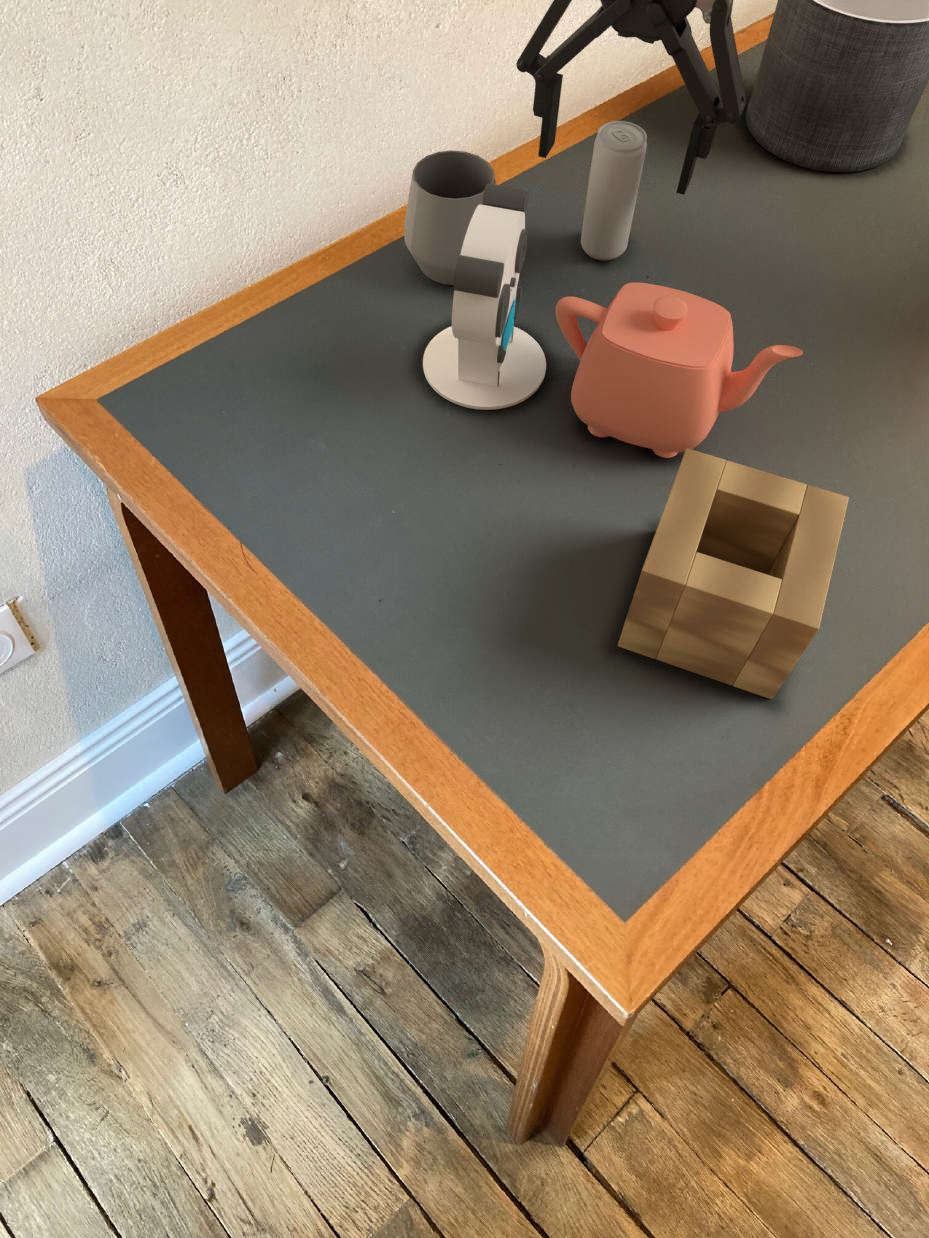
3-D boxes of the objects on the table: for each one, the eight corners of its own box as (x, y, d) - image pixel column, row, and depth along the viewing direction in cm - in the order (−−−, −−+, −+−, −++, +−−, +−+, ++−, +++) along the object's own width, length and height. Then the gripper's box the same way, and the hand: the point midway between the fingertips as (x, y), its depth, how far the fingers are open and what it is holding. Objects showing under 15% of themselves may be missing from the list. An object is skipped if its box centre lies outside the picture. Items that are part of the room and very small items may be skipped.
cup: (466, 227, 97) (468, 133, 89) (517, 277, 93) (525, 184, 85) (387, 257, 95) (382, 164, 86) (437, 311, 90) (437, 218, 82)
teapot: (522, 428, 83) (534, 319, 72) (567, 343, 89) (583, 231, 78) (744, 499, 79) (790, 395, 69) (775, 406, 85) (821, 297, 75)
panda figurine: (530, 425, 83) (547, 284, 70) (406, 401, 84) (401, 257, 71) (556, 335, 89) (576, 190, 76) (440, 313, 90) (441, 167, 78)
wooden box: (802, 576, 75) (849, 496, 66) (772, 700, 69) (819, 629, 60) (658, 530, 77) (686, 447, 69) (617, 646, 71) (641, 570, 63)
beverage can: (597, 269, 94) (617, 156, 84) (569, 242, 97) (585, 129, 86) (635, 253, 96) (659, 140, 86) (607, 227, 98) (627, 114, 88)
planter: (845, 76, 115) (899, -72, 102) (931, 157, 106) (1002, 7, 93) (717, 101, 111) (755, -49, 98) (795, 187, 103) (849, 35, 89)
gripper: (490, -110, 71) (477, 156, 89) (817, -39, 67) (734, 224, 85) (523, -147, 75) (504, 115, 93) (835, -82, 71) (752, 179, 89)
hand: (614, 168), depth 89 cm, fingers open, 13 cm apart
